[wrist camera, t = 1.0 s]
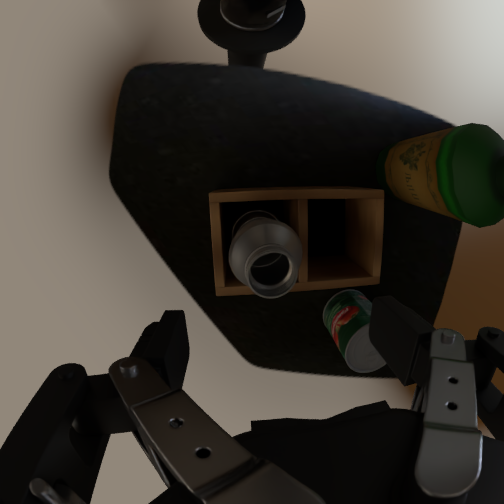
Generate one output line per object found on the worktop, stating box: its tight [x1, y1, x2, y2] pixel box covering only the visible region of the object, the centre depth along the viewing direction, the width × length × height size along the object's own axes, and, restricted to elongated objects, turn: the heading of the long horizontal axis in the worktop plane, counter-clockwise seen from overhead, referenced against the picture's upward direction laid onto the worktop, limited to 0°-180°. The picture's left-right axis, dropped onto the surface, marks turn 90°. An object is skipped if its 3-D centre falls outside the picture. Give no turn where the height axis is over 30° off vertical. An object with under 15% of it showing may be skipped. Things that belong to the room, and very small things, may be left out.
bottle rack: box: [209, 186, 384, 296], centre depth 35 cm, size 11×19×10 cm, turn 92°
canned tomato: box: [323, 289, 386, 373], centre depth 39 cm, size 8×8×11 cm
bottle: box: [375, 123, 504, 228], centre depth 25 cm, size 11×11×28 cm
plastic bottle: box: [229, 206, 303, 298], centre depth 30 cm, size 6×7×20 cm
